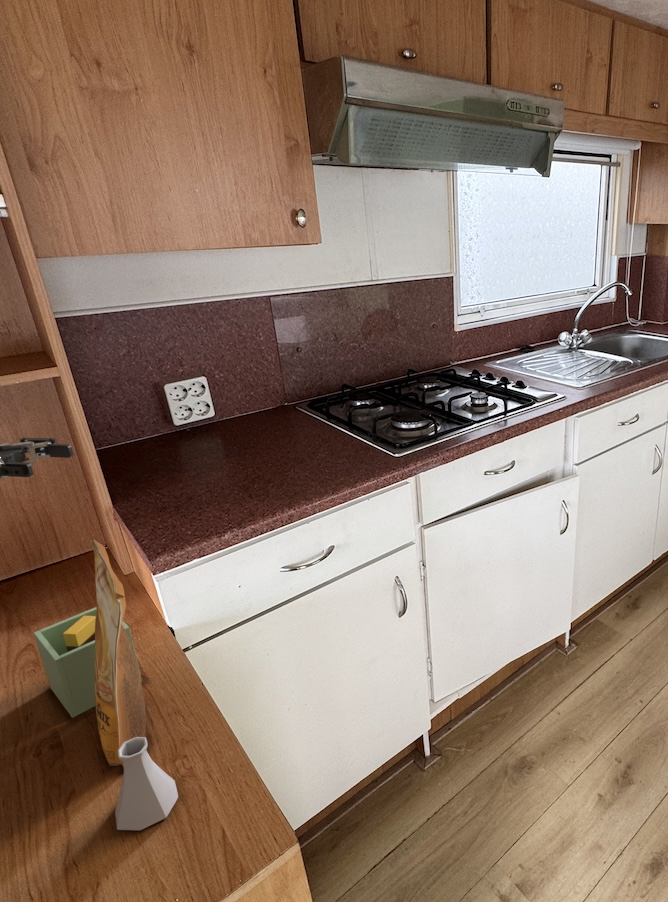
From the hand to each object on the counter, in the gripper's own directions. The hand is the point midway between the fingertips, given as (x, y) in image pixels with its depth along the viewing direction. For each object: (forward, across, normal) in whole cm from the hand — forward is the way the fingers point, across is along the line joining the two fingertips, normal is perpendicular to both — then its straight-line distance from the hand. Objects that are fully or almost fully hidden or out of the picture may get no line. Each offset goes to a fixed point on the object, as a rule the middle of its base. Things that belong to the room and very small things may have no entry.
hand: (51, 460), depth 95 cm
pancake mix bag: (+21, +21, -34) cm, 45 cm away
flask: (+31, +33, -34) cm, 57 cm away
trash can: (+10, +13, -34) cm, 38 cm away
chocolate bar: (+10, +13, -33) cm, 37 cm away
